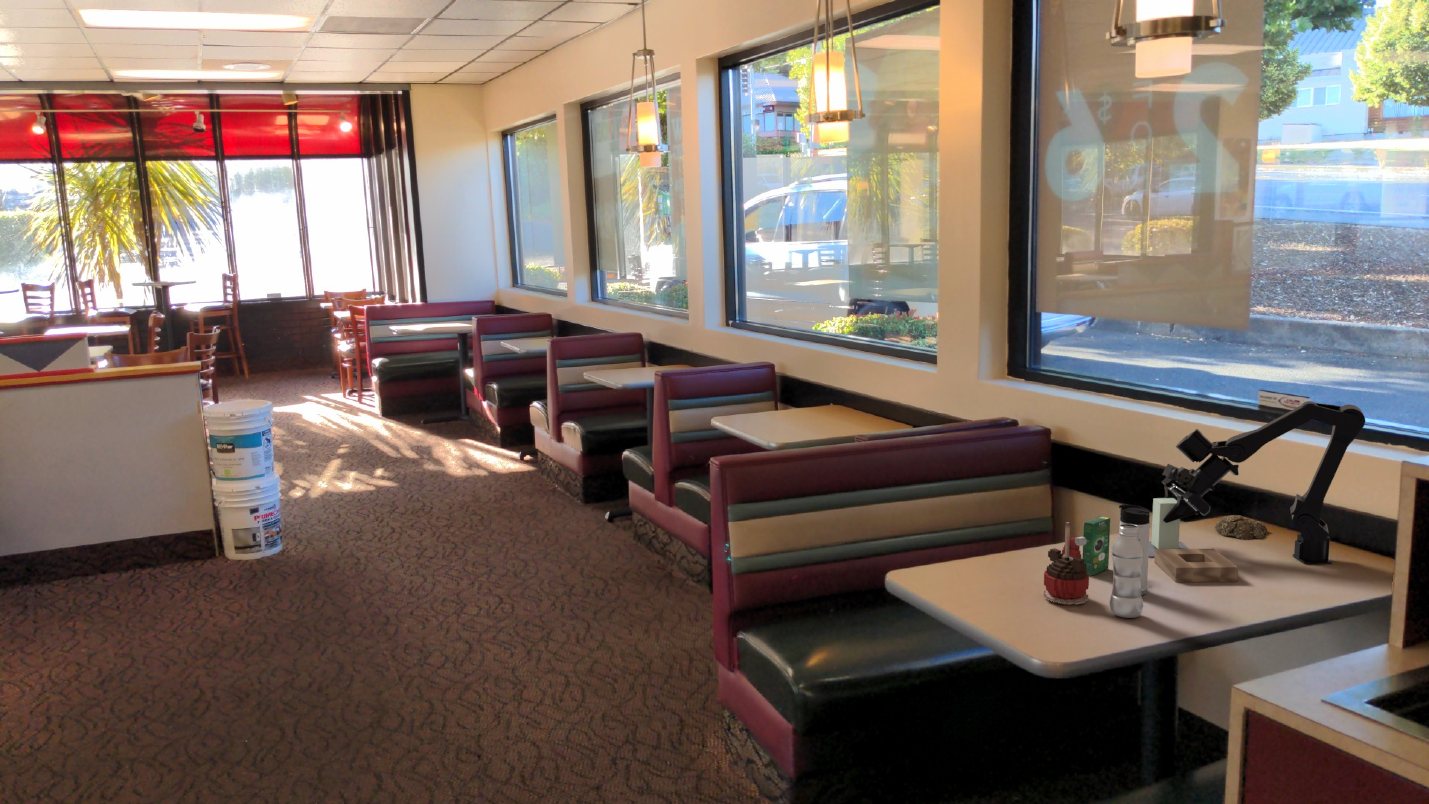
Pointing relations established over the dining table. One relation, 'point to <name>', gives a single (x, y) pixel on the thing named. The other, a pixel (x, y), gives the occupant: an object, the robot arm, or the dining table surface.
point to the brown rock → (1240, 527)
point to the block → (1164, 525)
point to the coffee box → (1096, 544)
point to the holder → (1196, 565)
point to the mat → (1152, 548)
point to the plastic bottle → (1127, 573)
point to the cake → (1067, 572)
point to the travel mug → (1141, 519)
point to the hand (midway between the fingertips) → (1160, 518)
